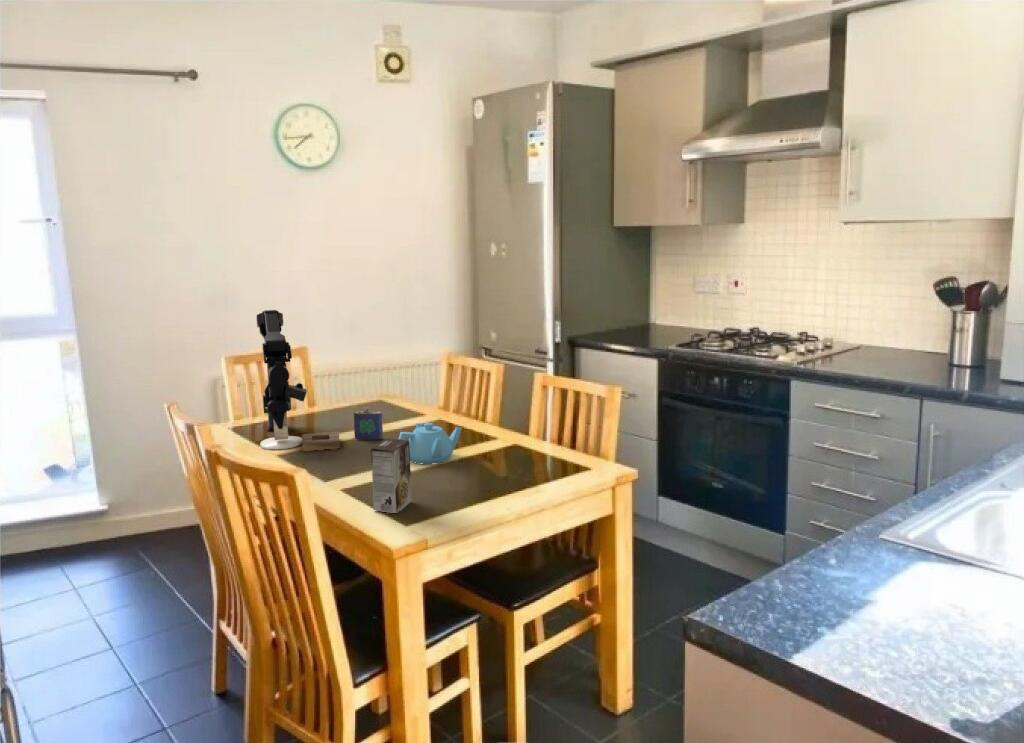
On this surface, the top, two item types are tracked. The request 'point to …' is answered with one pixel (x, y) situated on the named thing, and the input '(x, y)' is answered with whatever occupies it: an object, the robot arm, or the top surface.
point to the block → (281, 430)
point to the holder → (320, 441)
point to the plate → (281, 443)
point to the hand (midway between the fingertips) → (280, 427)
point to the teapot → (430, 443)
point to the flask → (368, 425)
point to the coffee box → (391, 475)
